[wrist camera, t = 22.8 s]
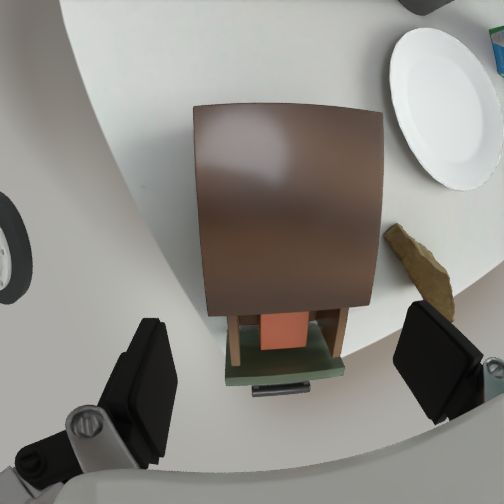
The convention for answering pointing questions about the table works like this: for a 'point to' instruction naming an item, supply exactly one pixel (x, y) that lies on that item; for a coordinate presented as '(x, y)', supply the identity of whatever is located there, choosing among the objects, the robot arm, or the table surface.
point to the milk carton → (498, 47)
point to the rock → (423, 270)
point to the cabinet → (287, 205)
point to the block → (283, 330)
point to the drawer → (285, 355)
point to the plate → (446, 108)
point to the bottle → (423, 5)
